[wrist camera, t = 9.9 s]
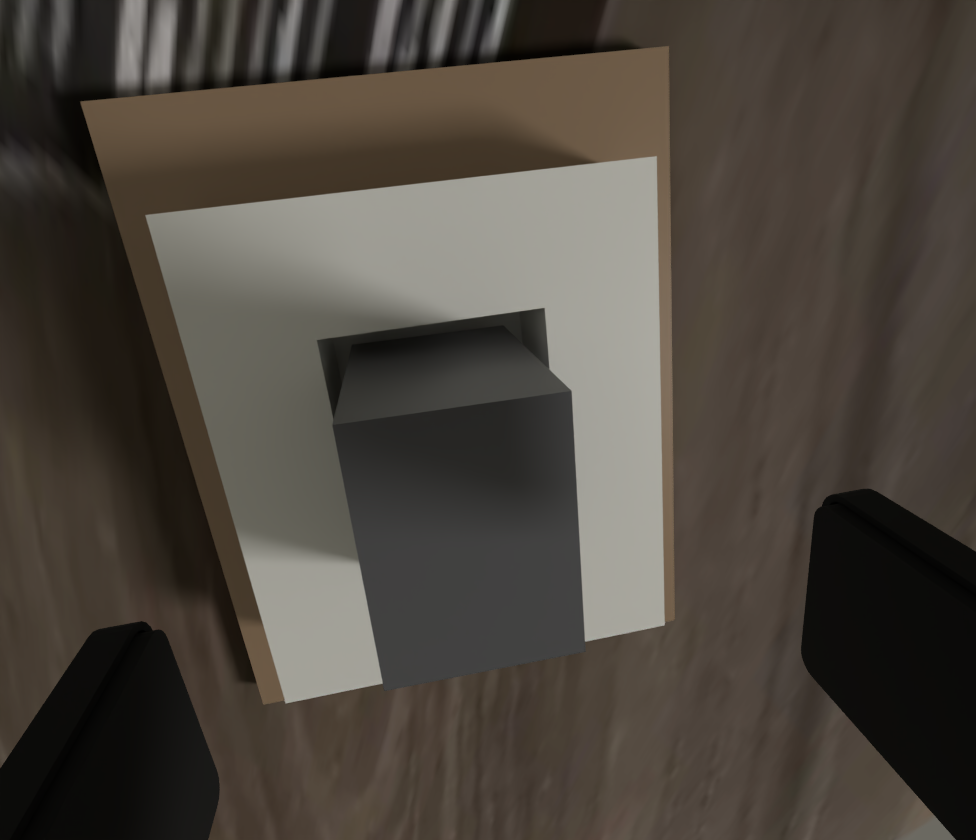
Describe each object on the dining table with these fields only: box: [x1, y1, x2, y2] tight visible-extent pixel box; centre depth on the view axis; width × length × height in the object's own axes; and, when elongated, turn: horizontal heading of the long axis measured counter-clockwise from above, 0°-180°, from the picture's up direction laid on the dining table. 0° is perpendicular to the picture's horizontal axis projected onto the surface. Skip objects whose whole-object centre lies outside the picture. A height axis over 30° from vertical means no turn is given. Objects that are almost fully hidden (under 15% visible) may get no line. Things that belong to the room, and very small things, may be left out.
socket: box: [81, 46, 675, 705], centre depth 19 cm, size 20×16×5 cm
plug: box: [332, 325, 586, 691], centre depth 16 cm, size 6×4×8 cm
